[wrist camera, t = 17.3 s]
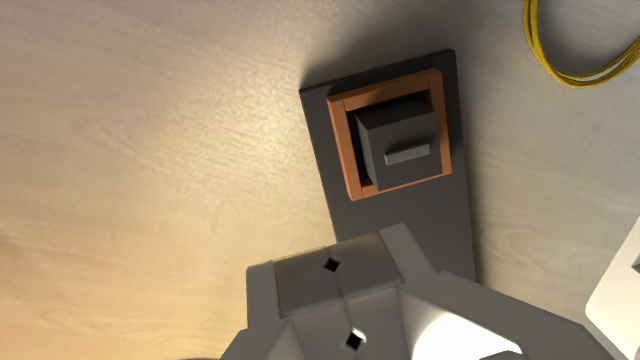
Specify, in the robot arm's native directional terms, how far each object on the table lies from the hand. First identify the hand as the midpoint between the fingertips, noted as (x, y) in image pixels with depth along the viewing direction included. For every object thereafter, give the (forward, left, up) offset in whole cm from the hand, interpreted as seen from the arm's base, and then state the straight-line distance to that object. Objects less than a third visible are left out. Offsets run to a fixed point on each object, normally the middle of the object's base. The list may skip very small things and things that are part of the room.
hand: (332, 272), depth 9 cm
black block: (+12, 0, -26) cm, 29 cm away
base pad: (+20, -7, -27) cm, 35 cm away
